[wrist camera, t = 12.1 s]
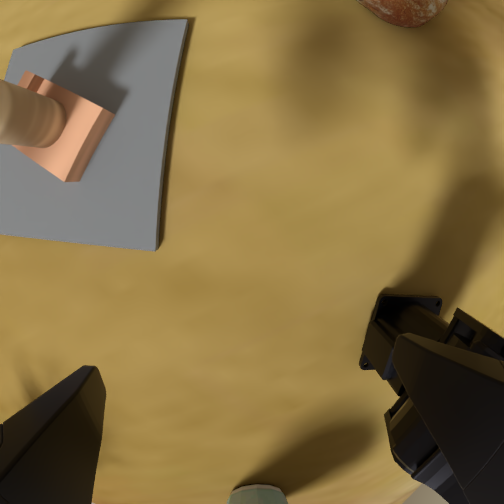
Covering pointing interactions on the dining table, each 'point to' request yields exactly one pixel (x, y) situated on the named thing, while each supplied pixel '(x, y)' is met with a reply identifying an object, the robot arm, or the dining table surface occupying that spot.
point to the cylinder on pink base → (51, 125)
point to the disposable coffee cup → (257, 495)
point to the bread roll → (405, 10)
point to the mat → (112, 143)
